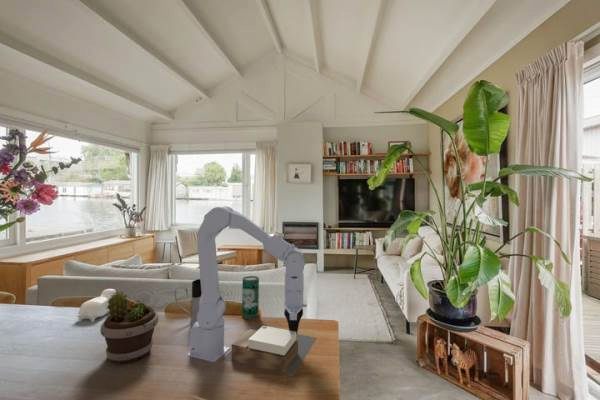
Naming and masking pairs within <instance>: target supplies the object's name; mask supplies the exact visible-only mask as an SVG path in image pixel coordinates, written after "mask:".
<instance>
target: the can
mask: <svg viewBox="0 0 600 400" xmlns="http://www.w3.org/2000/svg"><path fill="white" fill-rule="evenodd" d="M259 289H260V277H258V276H256V275H247V276H243V278H242V289H241V290H242V291H241V292H242V296H241V297H242V301H241V303H242V304H241V305H242V306H241V311H242V312H241V316H242V318H243V319H246V320H253V319H256V318H258V317H259V307H260V305H259V303H260V302H259V301H260V300H259V299H260V290H259Z"/></svg>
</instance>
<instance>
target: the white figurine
mask: <svg viewBox="0 0 600 400" xmlns="http://www.w3.org/2000/svg"><path fill="white" fill-rule="evenodd" d="M116 290H117V289H114V288H106V289H104V290H102V292H101V294H100V295H99V296H98V297H94V298H92V299H89V300H87V301H85V302H83V303H82V304H81V306H80V307H79V310H78V314H77V315H76V317H77V320H78V322H79V323H81V322H83V321H82V320H90V321H91V323H94V322H95V319H97V318H98V317H99V318H100V317H103V316H105V315H106V313H107V311H108V312H109V309H108V307H106V305H107V306H108V305H109V303H108V302H109V301H108V300H109V299H110V298H111V296H112V295H114V294H115V293H114V292H117V291H116ZM107 301H108V302H107ZM105 307H106V308H105Z"/></svg>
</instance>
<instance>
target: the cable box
mask: <svg viewBox="0 0 600 400" xmlns="http://www.w3.org/2000/svg"><path fill="white" fill-rule="evenodd" d="M256 332H257V330H255V329H252V328H251V329H250V328H249V329H247V330H246V332H245V333H243V334H242V335H241V336H240V337H238V338H237V339H236V340H235V341H233V342H232V343H231V350H232V358H231V360H232V361H236V362H240V363H244V364H248V365H252V366H256V367H260V368H264V369H268V370H272V371H277V372H281V373H285V372H286V371H287V370H288V368H289V367H290V365H291V364H292V362H293V361H294V359H295V358H296V356H297V355H298V340H296V341H295V342H294V343H293V345H292V346H291V347H290V349H289V350H288V351H287V353H286V354H285V356H284V355H280V354H275V353H270V352H266V351H261V350H256V349H252V348H248V339H249V338H250V337H251V336H252V335H253V334H255V333H256Z"/></svg>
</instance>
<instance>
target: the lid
mask: <svg viewBox="0 0 600 400" xmlns="http://www.w3.org/2000/svg"><path fill="white" fill-rule="evenodd" d="M260 327H261V328H260V329H259V330H258V331H257V332H256V333H255V334H253V335H252V336H251V337H250V338H249V339H248V348H252V349H256V350H261V351H266V352H270V353H275V354H280V355H284V356H285V354H286V353H287V351H288V350H289V349H290V347H291V346H292V345H293V343H294V342H295V341H296V332H295V331H290V330H289V329H285V328H284V329H283V328H277V327H272V326H266V325H262V326H260Z"/></svg>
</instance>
